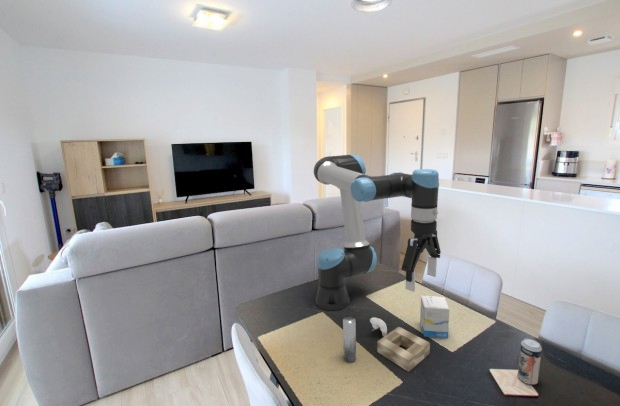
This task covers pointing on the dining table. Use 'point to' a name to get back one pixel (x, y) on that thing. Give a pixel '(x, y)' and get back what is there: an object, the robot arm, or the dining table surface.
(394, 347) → the socket block
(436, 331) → the ink box
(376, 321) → the white coral lump
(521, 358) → the beer can
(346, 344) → the peg
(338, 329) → the dining table surface
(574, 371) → the dining table surface
